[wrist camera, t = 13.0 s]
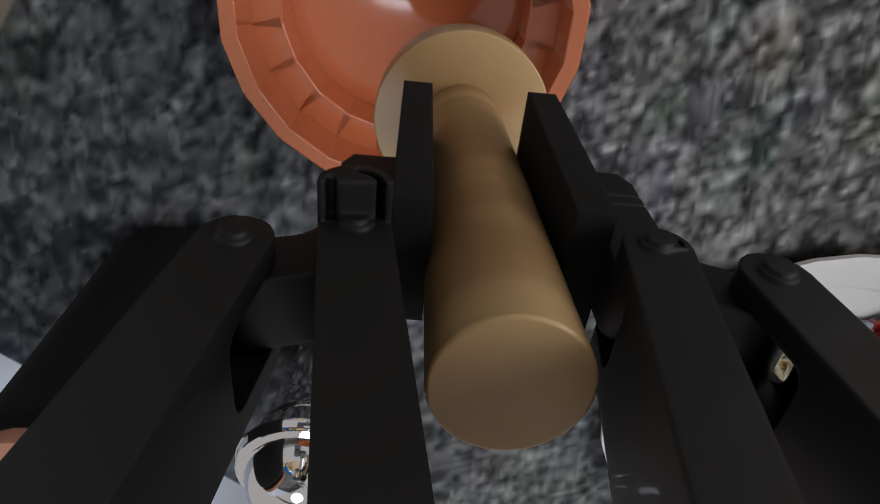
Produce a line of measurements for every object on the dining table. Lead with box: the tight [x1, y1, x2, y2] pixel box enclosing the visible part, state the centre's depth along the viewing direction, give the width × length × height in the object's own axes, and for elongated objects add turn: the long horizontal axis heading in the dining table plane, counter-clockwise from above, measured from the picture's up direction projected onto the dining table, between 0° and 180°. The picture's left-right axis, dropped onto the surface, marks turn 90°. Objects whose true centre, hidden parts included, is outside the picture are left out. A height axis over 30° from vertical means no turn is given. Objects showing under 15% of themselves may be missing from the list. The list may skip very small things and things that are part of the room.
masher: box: [374, 23, 599, 450], centre depth 16 cm, size 6×6×15 cm
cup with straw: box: [235, 342, 313, 504], centre depth 38 cm, size 8×9×20 cm
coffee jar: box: [0, 228, 196, 461], centre depth 35 cm, size 11×11×18 cm
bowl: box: [217, 0, 591, 170], centre depth 30 cm, size 17×17×6 cm
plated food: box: [601, 254, 880, 462], centre depth 48 cm, size 30×30×3 cm
